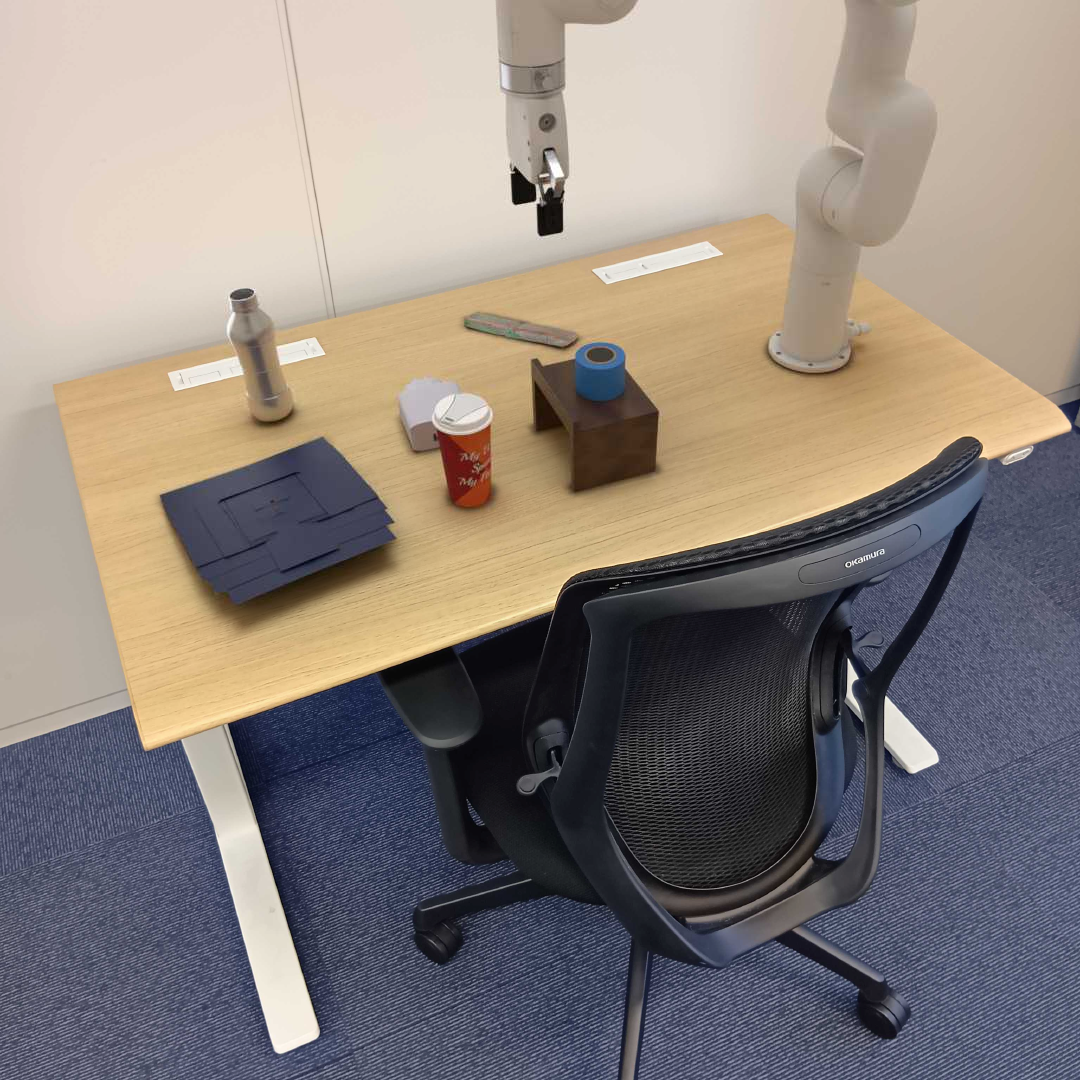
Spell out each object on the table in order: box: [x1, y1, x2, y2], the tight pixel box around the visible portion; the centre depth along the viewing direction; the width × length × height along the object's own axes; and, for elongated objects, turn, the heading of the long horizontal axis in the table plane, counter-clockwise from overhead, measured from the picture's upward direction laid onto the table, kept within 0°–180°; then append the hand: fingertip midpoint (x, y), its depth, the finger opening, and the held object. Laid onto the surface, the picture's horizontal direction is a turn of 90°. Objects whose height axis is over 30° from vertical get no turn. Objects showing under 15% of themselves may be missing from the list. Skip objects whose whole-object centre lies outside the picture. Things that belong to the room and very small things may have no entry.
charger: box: [396, 374, 464, 452], centre depth 144 cm, size 5×9×15 cm
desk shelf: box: [530, 357, 660, 493], centre depth 135 cm, size 12×16×12 cm
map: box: [463, 311, 580, 348], centre depth 162 cm, size 5×20×1 cm, turn 64°
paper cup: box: [432, 393, 494, 508], centre depth 127 cm, size 8×8×14 cm
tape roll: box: [574, 341, 626, 401], centre depth 130 cm, size 7×7×5 cm
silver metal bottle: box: [226, 287, 294, 423], centre depth 141 cm, size 6×7×20 cm
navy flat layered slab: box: [159, 436, 398, 606], centre depth 127 cm, size 24×30×4 cm
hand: (537, 217), depth 124 cm, fingers open, 9 cm apart
